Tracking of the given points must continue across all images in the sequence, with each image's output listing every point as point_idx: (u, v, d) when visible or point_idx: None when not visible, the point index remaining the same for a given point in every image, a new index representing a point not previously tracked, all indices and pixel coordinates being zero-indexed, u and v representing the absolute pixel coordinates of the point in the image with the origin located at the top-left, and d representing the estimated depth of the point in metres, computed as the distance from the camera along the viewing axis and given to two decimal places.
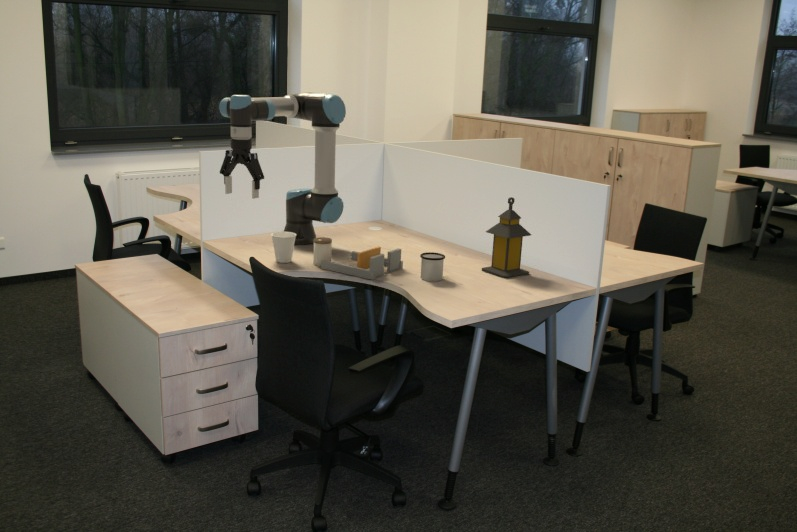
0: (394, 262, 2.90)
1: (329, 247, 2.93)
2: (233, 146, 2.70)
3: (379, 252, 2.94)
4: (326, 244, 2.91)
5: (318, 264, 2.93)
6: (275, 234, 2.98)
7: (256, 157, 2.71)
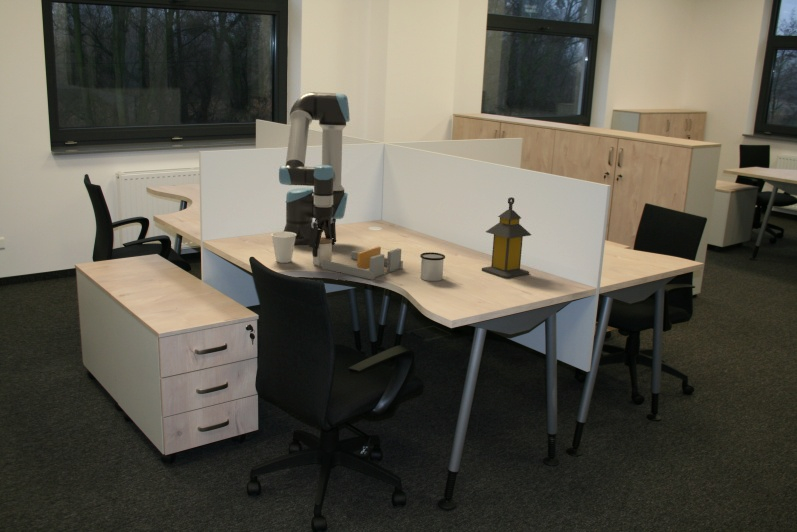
0: (394, 262, 2.90)
1: (329, 247, 2.93)
2: None
3: (379, 252, 2.94)
4: (326, 244, 2.91)
5: None
6: (275, 234, 2.98)
7: (313, 227, 2.87)
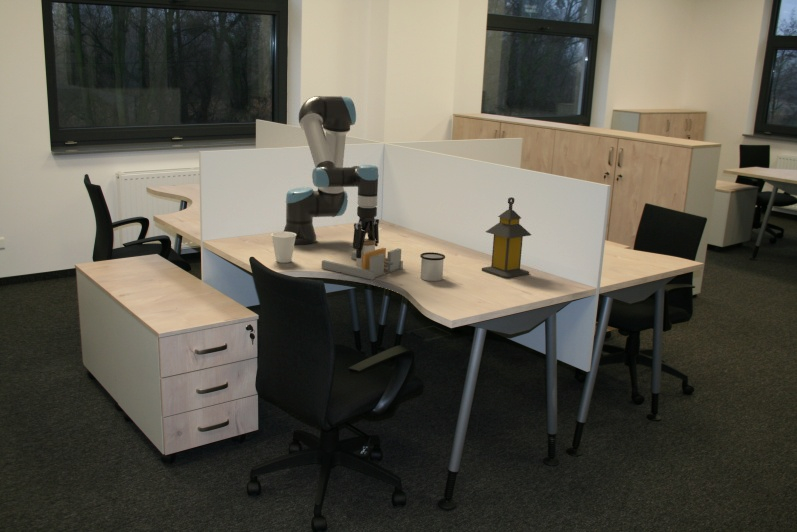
0: (394, 262, 2.90)
1: (373, 248, 2.88)
2: None
3: (384, 253, 2.93)
4: (370, 246, 2.86)
5: None
6: (275, 234, 2.98)
7: (357, 228, 2.82)
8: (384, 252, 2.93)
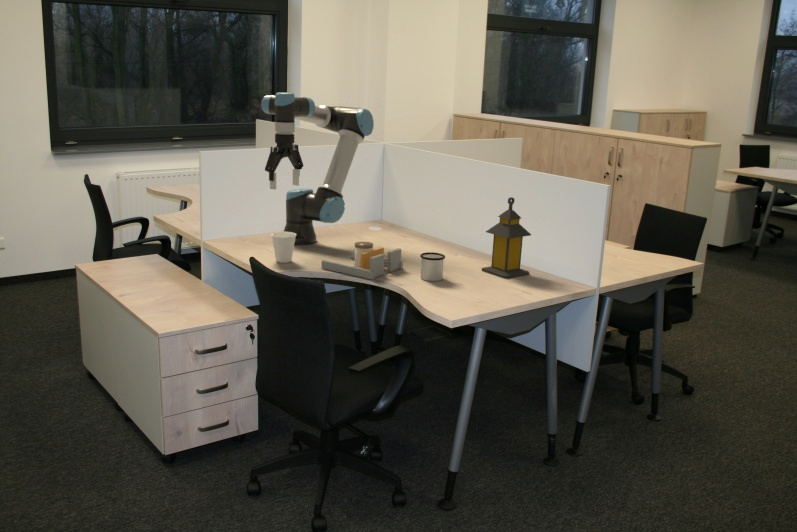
0: (394, 262, 2.90)
1: None
2: None
3: (382, 253, 2.93)
4: (368, 249, 2.87)
5: None
6: (275, 234, 2.98)
7: (273, 150, 2.87)
8: (382, 252, 2.93)
